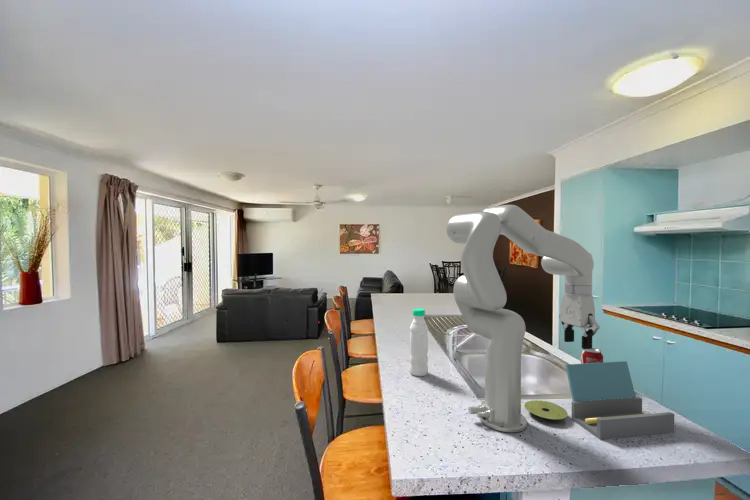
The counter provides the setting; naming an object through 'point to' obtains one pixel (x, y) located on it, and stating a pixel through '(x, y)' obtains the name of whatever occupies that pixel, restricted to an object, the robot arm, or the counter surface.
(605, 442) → the counter surface
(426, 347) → the water bottle
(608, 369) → the panel
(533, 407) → the mat
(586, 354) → the soda can
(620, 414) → the cable duct
